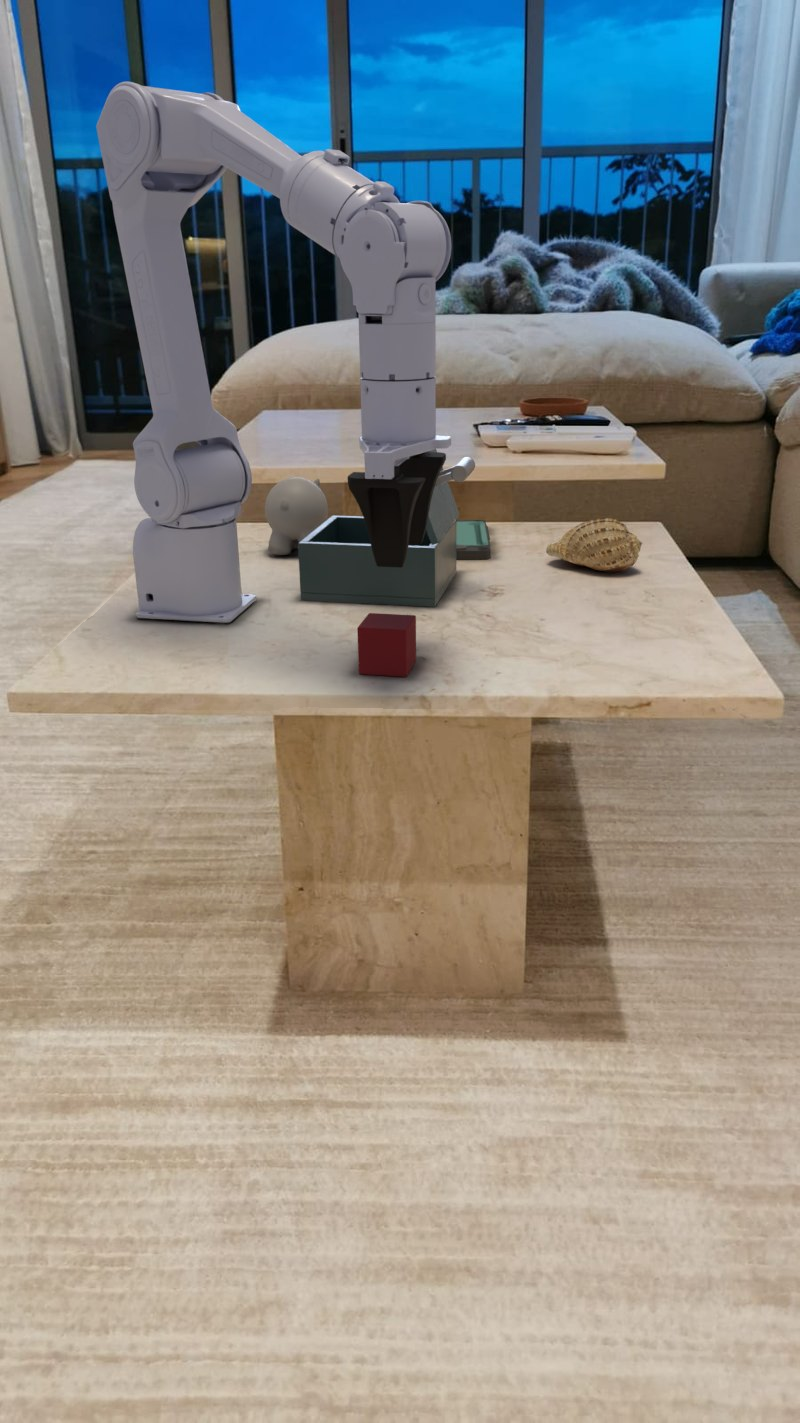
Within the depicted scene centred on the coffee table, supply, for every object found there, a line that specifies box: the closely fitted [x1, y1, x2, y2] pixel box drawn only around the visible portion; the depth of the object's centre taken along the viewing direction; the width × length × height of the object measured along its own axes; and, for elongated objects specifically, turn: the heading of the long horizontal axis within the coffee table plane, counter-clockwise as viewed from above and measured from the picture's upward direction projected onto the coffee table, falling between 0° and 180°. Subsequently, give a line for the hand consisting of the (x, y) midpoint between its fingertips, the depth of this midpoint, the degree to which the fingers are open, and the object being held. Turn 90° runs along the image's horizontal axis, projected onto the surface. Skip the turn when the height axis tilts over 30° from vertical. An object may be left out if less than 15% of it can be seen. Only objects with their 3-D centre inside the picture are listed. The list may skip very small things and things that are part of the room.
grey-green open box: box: [297, 515, 458, 608], centre depth 110 cm, size 14×13×6 cm
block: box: [356, 612, 417, 678], centre depth 88 cm, size 4×4×4 cm
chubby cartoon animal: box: [264, 476, 329, 556], centre depth 125 cm, size 7×12×8 cm, turn 171°
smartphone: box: [456, 519, 492, 560], centre depth 127 cm, size 7×1×15 cm
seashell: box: [545, 517, 643, 573], centre depth 116 cm, size 8×6×10 cm
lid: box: [426, 448, 476, 545], centre depth 104 cm, size 14×13×5 cm
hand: (400, 553), depth 86 cm, fingers open, 7 cm apart
